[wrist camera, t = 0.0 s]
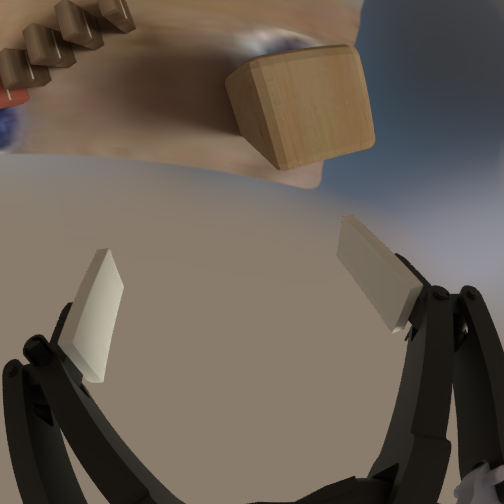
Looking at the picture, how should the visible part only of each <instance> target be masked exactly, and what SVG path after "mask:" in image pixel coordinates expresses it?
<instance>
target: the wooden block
mask: <svg viewBox="0 0 504 504" xmlns="http://www.w3.org/2000/svg"><path fill="white" fill-rule="evenodd" d="M224 84H225V87H226V90H227V93H228V96H229V99H230V102H231V105H232V108H233V111H234V115H235V118H236V121H237V124H238V127H239V130H240V133H241V135H242V136H243V137H244V138H245V139H246V140H247V141H248V142H249V143H250V144H251V145H252V146H253V147H254V148H255V149H257V150H258V151H259V152H260V153H261V154H262V155H263V156H264V157H265V158H266V159H267V160H268V161H269V162H270V163H271V164H272V165H273V166H274V167H275V168H276V169H277V170H284V171H287V170H290V169H294V168H297V167H301V166H304V165H307V164H311V163H314V162H318V161H322V160H325V159H329V158H332V157H336V156H340V155H344V154H348V153H352V152H356V151H360V150H364V149H368V148H370V147H372V146H373V145H374V142H375V135H374V128H373V121H372V114H371V108H370V103H369V97H368V92H367V87H366V82H365V78H364V73H363V69H362V64H361V60H360V56H359V53H358V52H357V50H356V49H355V48H354V47H351V46H348V45H331V46H320V47H311V48H303V49H295V50H289V51H283V52H277V53H272V54H267V55H262V56H257V57H254V58H252V59H251V60H249V61H248V62H246V63H245V64H244V65H242V66H241V67H239V68H238V69H237V70H235V71H234V72H233V73H231V74H230V75H229V76H228V77H226V78H225V82H224Z"/></svg>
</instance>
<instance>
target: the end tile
mask: <svg viewBox="0 0 504 504" xmlns="http://www.w3.org/2000/svg"><path fill="white" fill-rule="evenodd" d="M28 99H29V95H28V92H27V89H26V87H22V88H12V89H4V86H3V83H2V79H1V75H0V109H1V108H5V107H10V106H15V105H20V104H24V103H25V102H26V101H27V100H28Z"/></svg>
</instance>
